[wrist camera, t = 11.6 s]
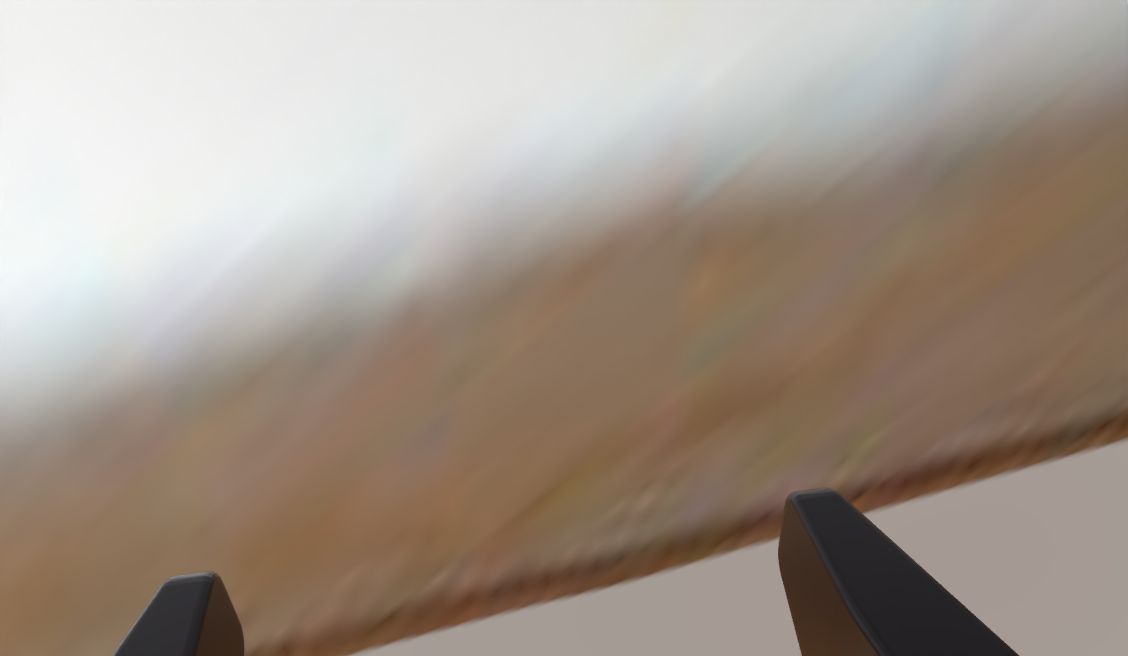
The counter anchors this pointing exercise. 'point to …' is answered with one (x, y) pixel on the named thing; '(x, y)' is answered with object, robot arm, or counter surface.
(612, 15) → the counter surface
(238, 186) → the counter surface
